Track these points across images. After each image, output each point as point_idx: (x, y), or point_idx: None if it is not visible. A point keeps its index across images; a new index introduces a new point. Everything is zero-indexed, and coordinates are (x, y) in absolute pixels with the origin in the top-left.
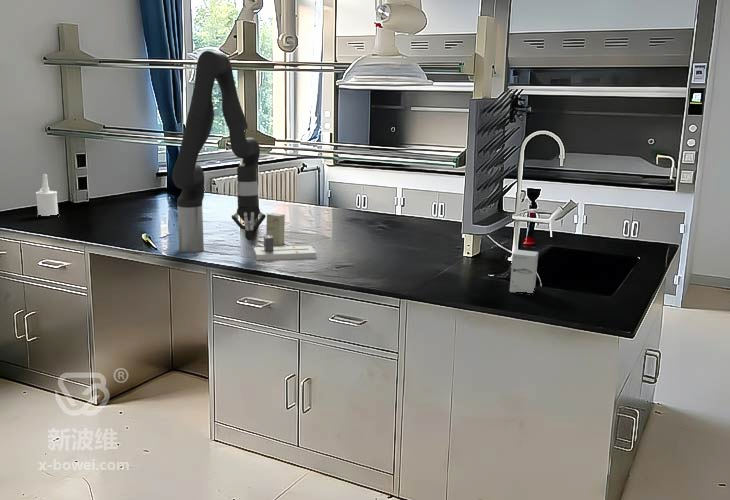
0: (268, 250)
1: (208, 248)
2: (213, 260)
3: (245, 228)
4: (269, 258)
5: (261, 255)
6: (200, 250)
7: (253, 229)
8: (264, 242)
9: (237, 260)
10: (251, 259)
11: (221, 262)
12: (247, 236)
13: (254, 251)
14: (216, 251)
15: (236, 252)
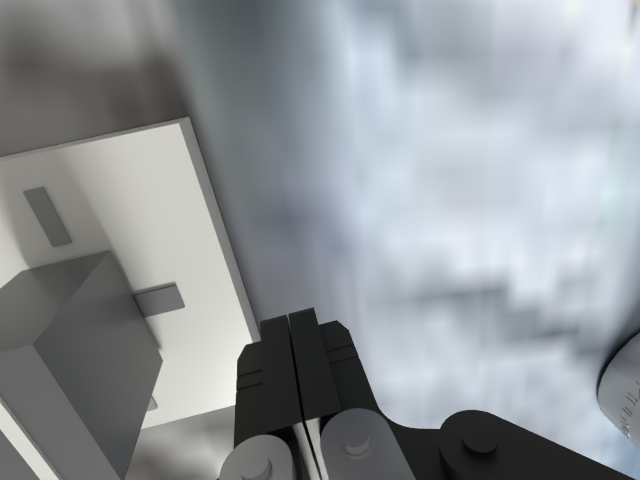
0: (72, 263)
1: (564, 416)
2: (577, 90)
3: (391, 441)
4: (54, 145)
5: (127, 134)
6: (629, 346)
7: (223, 476)
8: (114, 365)
9: (374, 98)
10: (248, 145)
11: (518, 7)
12: (323, 345)
13: (253, 330)
14: (526, 360)
15: (396, 354)
